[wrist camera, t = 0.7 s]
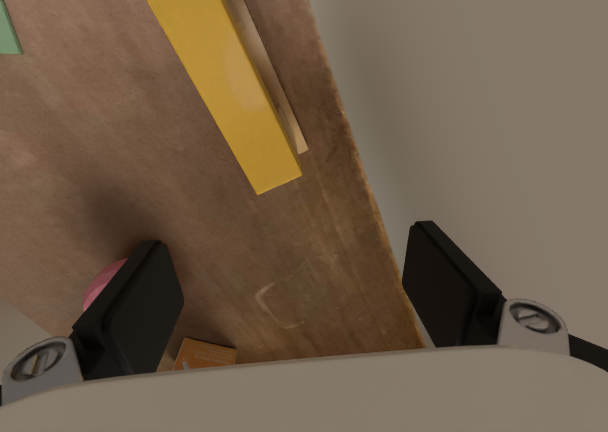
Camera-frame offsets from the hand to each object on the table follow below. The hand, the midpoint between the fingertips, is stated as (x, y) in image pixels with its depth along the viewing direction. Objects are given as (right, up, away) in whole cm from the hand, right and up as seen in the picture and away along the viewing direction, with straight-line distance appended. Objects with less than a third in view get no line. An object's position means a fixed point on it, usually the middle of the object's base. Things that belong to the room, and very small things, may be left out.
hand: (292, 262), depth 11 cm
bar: (-4, +11, +7) cm, 14 cm away
